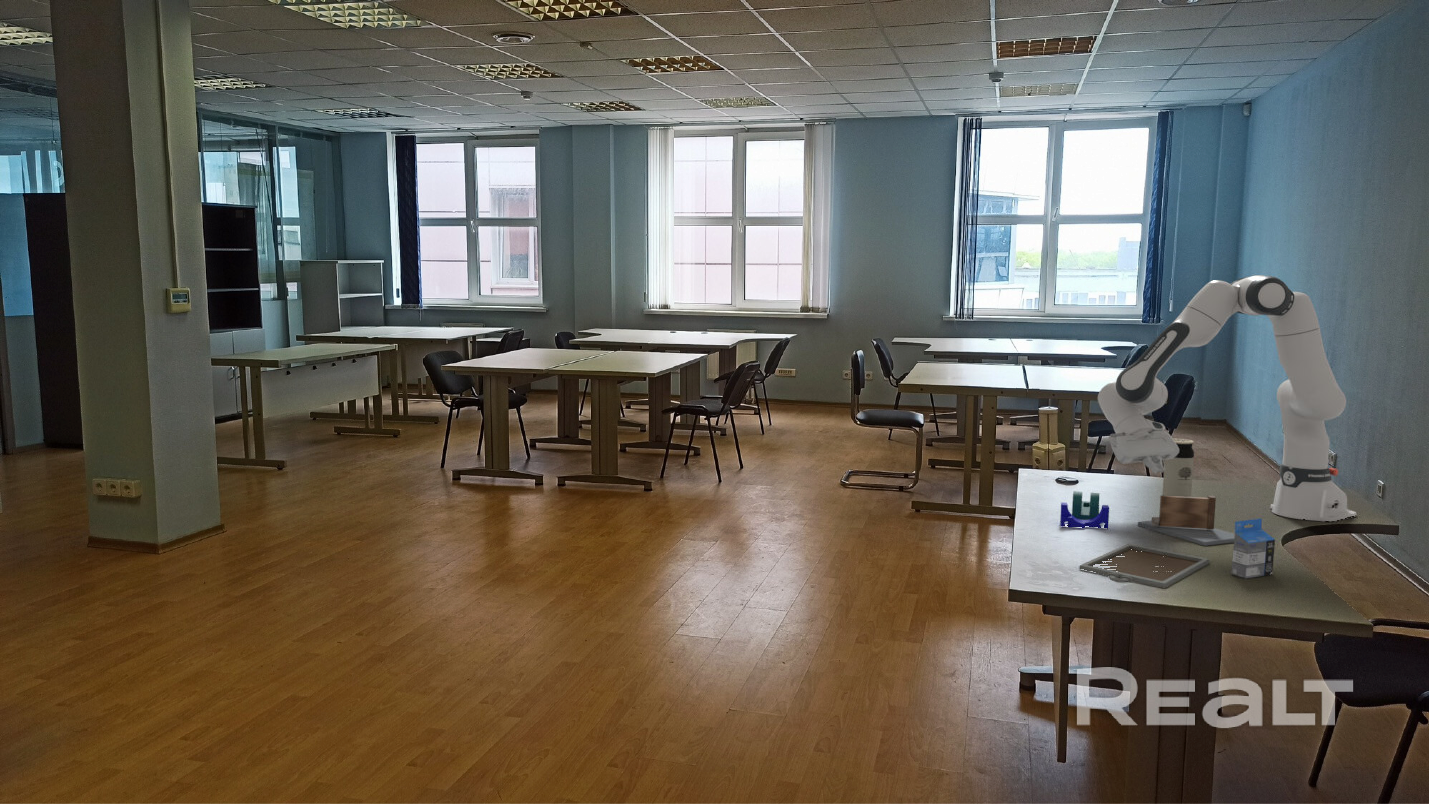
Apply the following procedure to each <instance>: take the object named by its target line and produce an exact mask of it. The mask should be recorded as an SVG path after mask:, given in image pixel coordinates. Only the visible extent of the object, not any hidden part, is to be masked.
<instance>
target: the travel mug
mask: <svg viewBox="0 0 1429 804" xmlns="http://www.w3.org/2000/svg"><path fill="white" fill-rule="evenodd" d="M1173 440H1174V441H1175V443H1176V444H1177V446H1178V448H1179V453H1178V455H1177V456H1175V457H1174V458H1173V459H1167V460H1164V464H1163V466H1164V468H1165V471H1164V472H1163V482H1162V495H1163V496H1183V497H1192V489H1193V478H1194V475H1193V474H1194V473H1193V472H1194V462H1195V461H1194V460H1195V451H1194V449H1193V444H1194V442H1195V441H1194V440H1191V439H1187V438H1173Z"/></svg>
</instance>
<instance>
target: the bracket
mask: <svg viewBox="0 0 1429 804" xmlns="http://www.w3.org/2000/svg"><path fill="white" fill-rule="evenodd" d="M1071 507H1072V508H1071V514H1072V515H1073V516H1074V517H1075V518H1077V519H1081V520H1089V519H1092V518H1094V517H1096V516H1097V515H1098V514H1099V513H1100V493H1099V492H1090V498H1089V501H1087V500H1085V501H1083V491H1075V490H1073V493H1072V506H1071Z"/></svg>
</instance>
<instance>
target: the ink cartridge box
mask: <svg viewBox="0 0 1429 804" xmlns="http://www.w3.org/2000/svg"><path fill="white" fill-rule="evenodd" d="M1262 523H1263V518H1254V519H1253V518H1252V519H1246V520H1237V521H1234V534H1235V537H1234V542H1233V553H1232V561H1231V574H1230V575H1233V576H1235V577H1238V578H1242V579H1246V580H1247V579H1251V578H1252V579H1253V578H1258V577H1265V576H1270V575H1271V574H1272V575H1273V569H1274V558H1275V547H1276V546H1275V544H1276V539H1275V538H1274V537H1272V536H1271V535H1270V534H1269V533H1267V532H1266V531H1265V530H1263V528H1262V526H1263V525H1262ZM1248 525H1250V526H1251V527H1250V526H1249V527H1245V526H1248Z"/></svg>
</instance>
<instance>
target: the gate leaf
mask: <svg viewBox="0 0 1429 804" xmlns="http://www.w3.org/2000/svg"><path fill="white" fill-rule="evenodd" d="M1159 498H1160V502H1159V517H1157V516H1151V520H1152V521H1151V520H1150V521H1151V525H1152V526H1166V527H1184V528H1201V529H1213V530H1214V528H1215V518H1216V504H1217V497H1216V496H1215V495H1207V497H1203V496H1202V497H1200V496H1199V497H1198V496H1197V497H1196V496H1191V497H1183V496H1163V494H1162V495H1160V497H1159Z"/></svg>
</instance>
